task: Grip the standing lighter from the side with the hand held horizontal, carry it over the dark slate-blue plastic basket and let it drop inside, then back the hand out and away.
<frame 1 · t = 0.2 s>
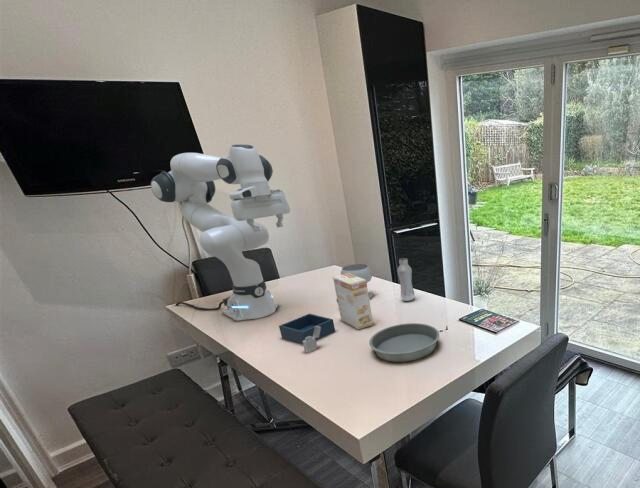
hand: (268, 229, 155), 39 cm above the table, tool pointing down, fingers open, 8 cm apart
chalice: (360, 297, 198), on the table
cake pan: (406, 348, 149), on the table
lighter: (315, 348, 149), on the table
coffeecake box: (357, 322, 170), on the table
basket: (309, 334, 160), on the table
onion: (345, 307, 186), on the table
plastic bottle: (408, 300, 194), on the table
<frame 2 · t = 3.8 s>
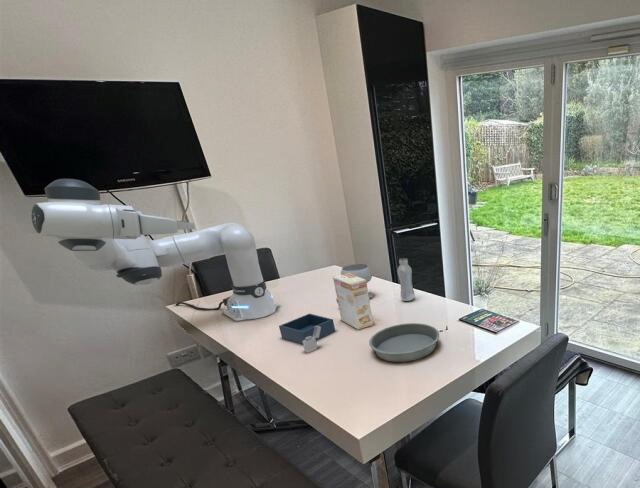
hand: (189, 225, 119), 47 cm above the table, tool horizontal, fingers open, 8 cm apart
nothing on the table moved.
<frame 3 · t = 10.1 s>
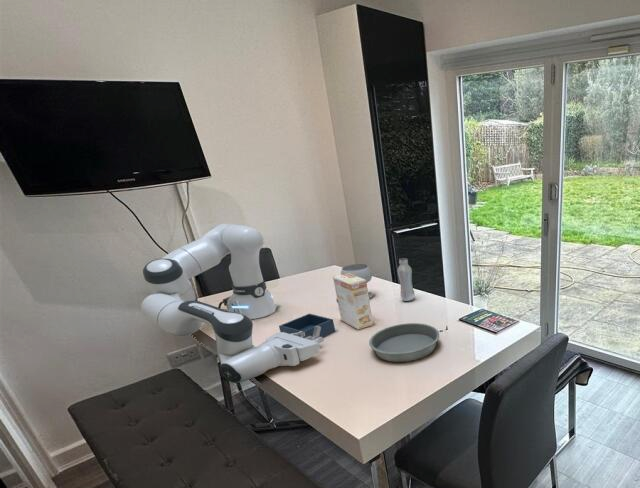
hand: (312, 335, 147), 5 cm above the table, tool horizontal, fingers open, 8 cm apart
nothing on the table moved.
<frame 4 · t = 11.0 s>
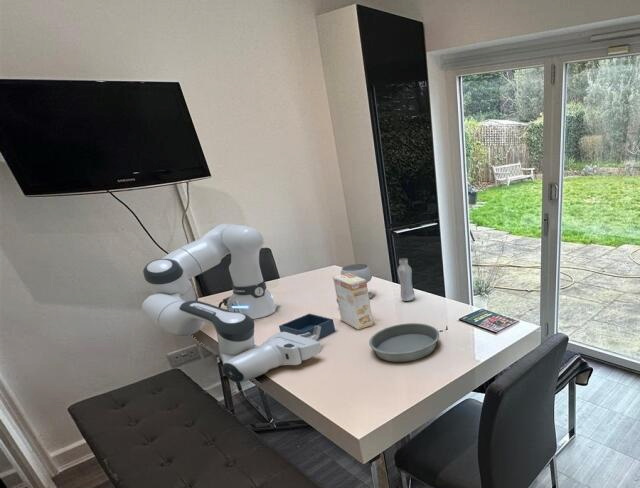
hand: (313, 335, 147), 5 cm above the table, tool horizontal, fingers closed on lighter, 2 cm apart
lighter: (315, 348, 149), on the table, touching gripper
everything else where it was.
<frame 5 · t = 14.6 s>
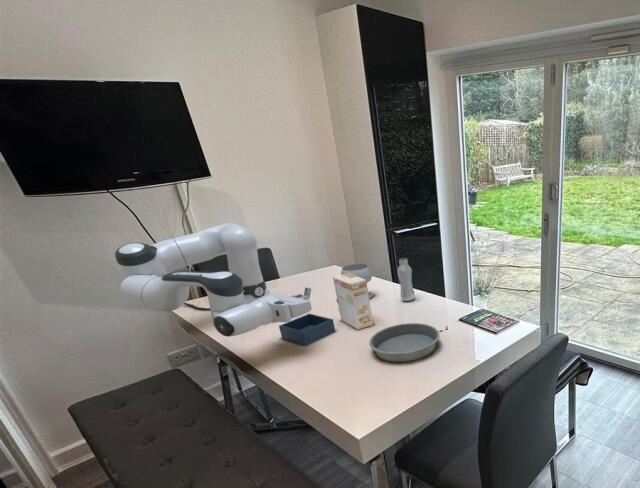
hand: (304, 296, 150), 17 cm above the table, tool horizontal, fingers closed on lighter
lighter: (305, 310, 152), point 12 cm above the table, touching gripper
everything else where it was.
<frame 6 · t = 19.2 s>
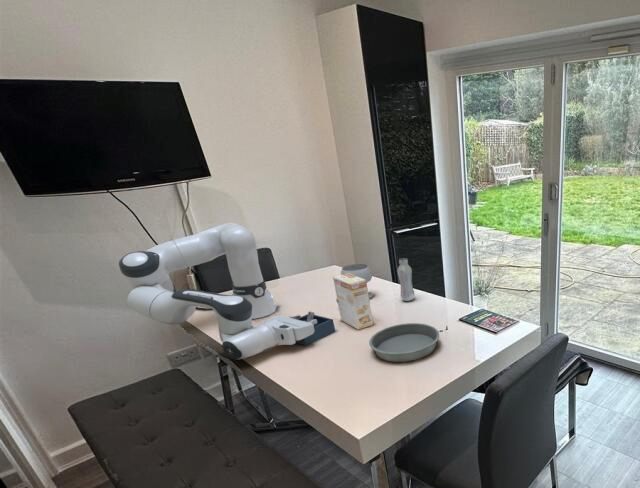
hand: (307, 318, 158), 6 cm above the table, tool horizontal, fingers open, 8 cm apart
lighter: (309, 333, 160), point 1 cm above the table, touching basket
everything else where it was.
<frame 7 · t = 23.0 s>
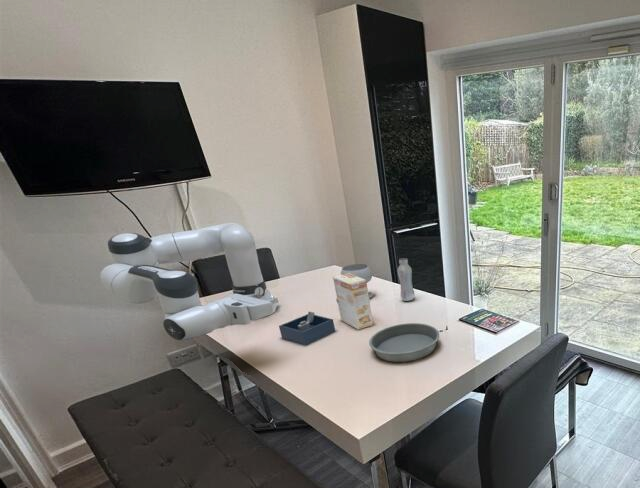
hand: (267, 297, 142), 20 cm above the table, tool horizontal, fingers open, 8 cm apart
nothing on the table moved.
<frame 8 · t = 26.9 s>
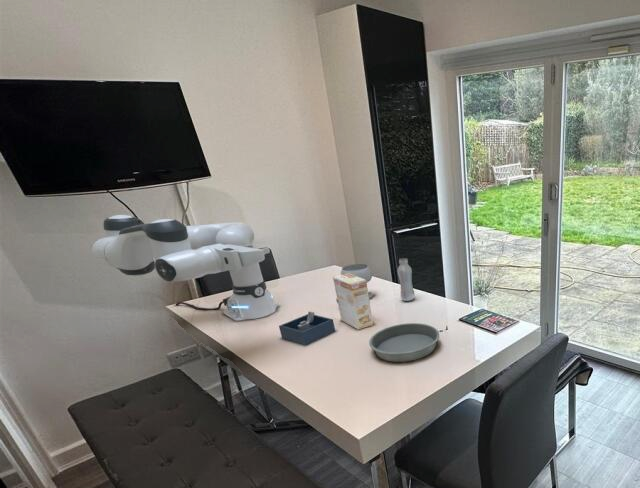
hand: (259, 248, 144), 35 cm above the table, tool horizontal, fingers open, 8 cm apart
nothing on the table moved.
at the end: lighter inside the target area in the basket (0.2 cm from its centre), point 0.6 cm above the basket's base; the gripper is holding nothing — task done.
